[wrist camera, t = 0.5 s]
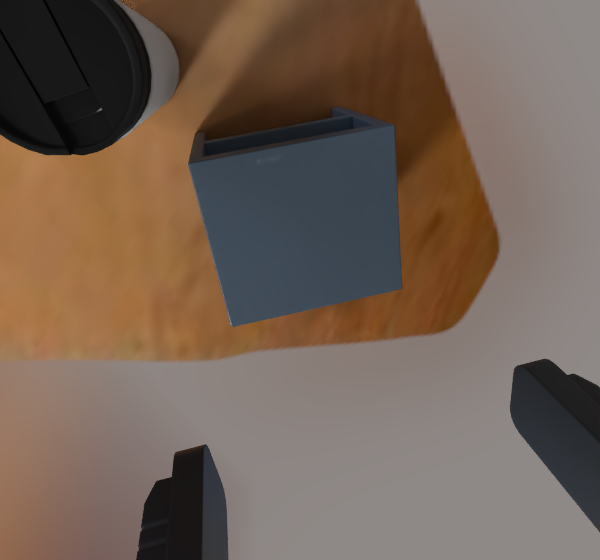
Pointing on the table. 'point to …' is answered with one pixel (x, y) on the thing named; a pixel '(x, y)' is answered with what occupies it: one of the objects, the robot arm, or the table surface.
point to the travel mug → (79, 73)
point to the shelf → (300, 214)
